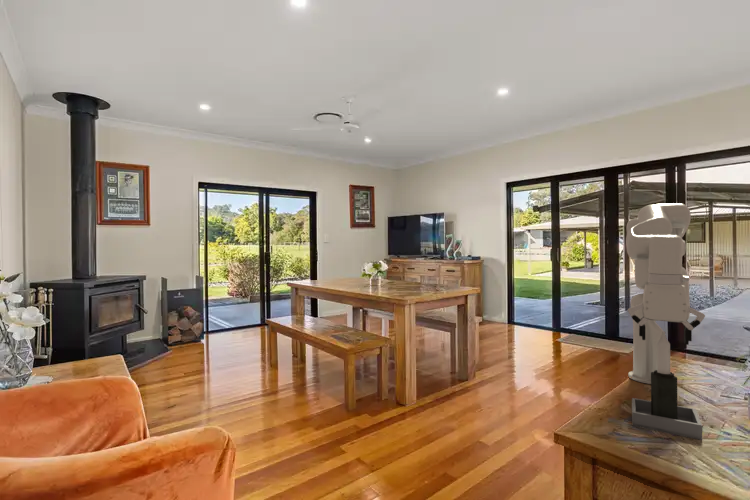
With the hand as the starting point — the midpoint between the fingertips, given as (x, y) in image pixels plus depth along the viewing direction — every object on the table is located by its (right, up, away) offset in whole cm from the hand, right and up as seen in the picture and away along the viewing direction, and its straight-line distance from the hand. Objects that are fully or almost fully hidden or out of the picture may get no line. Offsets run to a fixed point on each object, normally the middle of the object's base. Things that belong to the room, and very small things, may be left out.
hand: (664, 341), depth 110 cm
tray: (0, -23, 0) cm, 23 cm away
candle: (0, -23, 0) cm, 23 cm away
